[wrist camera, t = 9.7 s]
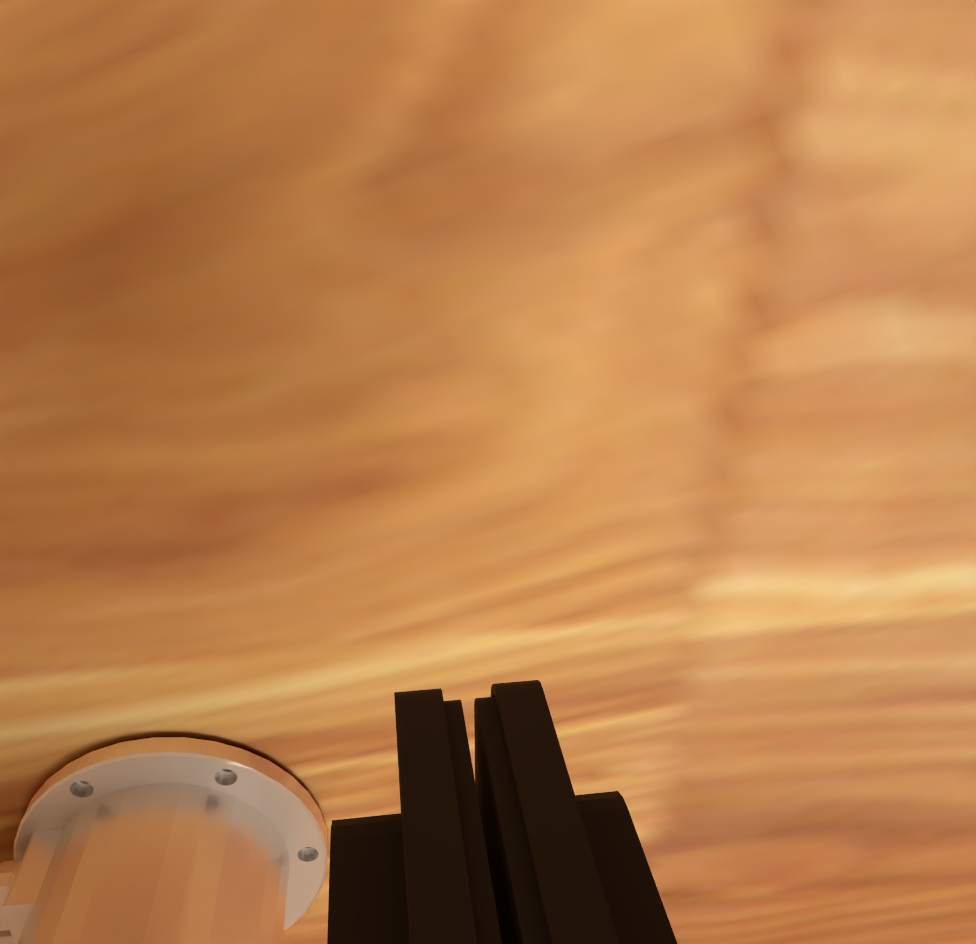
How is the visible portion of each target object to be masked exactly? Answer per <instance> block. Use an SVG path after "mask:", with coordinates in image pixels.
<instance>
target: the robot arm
mask: <svg viewBox="0 0 976 944" xmlns="http://www.w3.org/2000/svg"><path fill="white" fill-rule="evenodd" d="M394 695H395V713H396V731H397V749H398V766H399V784H400V801H401V814H391V815H381V816H372V817H362V818H352V819H342V820H333V821H332V826H331V844H330V878H329V911H328V944H677V941H676V939H675V936H674V933H673V931H672V928H671V925H670V922H669V920H668V917H667V914H666V911H665V909H664V906H663V903H662V901H661V898H660V895H659V892H658V890H657V887H656V884H655V882H654V879H653V876H652V873H651V871H650V868H649V865H648V862H647V860H646V857H645V854H644V852H643V849H642V846H641V843H640V841H639V838H638V835H637V832H636V830H635V827H634V824H633V822H632V819H631V816H630V813H629V811H628V808H627V806H626V803H625V801H624V799H623V797H622V796H621V794H620V793H619V792H618V791H615V792H605V793H595V794H585V795H576V796H575V794H574V791H573V788H572V784H571V781H570V778H569V774H568V771H567V768H566V764H565V761H564V758H563V755H562V751H561V748H560V745H559V741H558V738H557V735H556V731H555V728H554V725H553V721H552V718H551V715H550V711H549V708H548V705H547V701H546V698H545V695H544V692H543V688H542V686H541V683H540V681H539V680H534V681H522V682H511V683H499V684H493V685H492V687H491V697H487V698H476V699H475V703H474V717H475V780H474V774H473V768H472V762H471V756H470V750H469V744H468V738H467V732H466V726H465V720H464V714H463V708H462V703H461V700H453V701H443V695H442V690H441V689H430V690H419V691H407V692H396V693H394ZM327 857H328V836H327V828H326V825H325V822H324V819H323V816H322V813H321V811H320V809H319V808H318V806H317V805H316V803H315V801H314V800H313V798H312V797H311V795H310V794H309V792H308V791H307V790H306V789H305V788H304V787H303V786H302V785H301V784H300V783H299V782H298V781H297V780H296V779H295V778H294V777H293V776H291V775H290V774H288V773H287V772H285V771H284V770H282V769H281V768H280V767H278V766H277V765H275V764H274V763H272V762H271V761H269V760H266V759H264V758H262V757H260V756H258V755H255V754H253V753H251V752H249V751H246V750H244V749H241V748H237V747H234V746H230V745H226V744H223V743H219V742H216V741H209V740H201V739H194V738H186V737H153V738H146V739H139V740H133V741H126V742H121V743H117V744H114V745H111V746H108V747H104V748H101V749H98V750H95V751H92V752H90V753H88V754H86V755H84V756H82V757H80V758H78V759H76V760H74V761H72V762H70V763H68V764H67V765H66V766H64V767H63V768H62V769H60V770H59V771H58V772H56V773H55V774H54V775H52V776H51V777H50V778H49V779H47V781H46V782H45V783H44V784H43V785H42V787H41V788H40V789H39V790H38V791H37V792H36V794H35V795H34V796H33V797H32V799H31V801H30V804H29V806H28V808H27V810H26V812H25V814H24V816H23V818H22V820H21V822H20V825H19V828H18V832H17V835H16V838H15V841H14V861H3V862H1V863H0V944H283V934H284V930H286V929H287V928H289V927H290V926H292V925H293V924H294V923H295V922H296V921H297V920H298V919H299V918H300V917H301V916H302V915H303V914H304V913H305V912H306V911H307V910H308V909H309V907H310V906H311V905H312V903H313V902H314V900H315V899H316V897H317V896H318V894H319V892H320V889H321V887H322V884H323V881H324V879H325V876H326V868H327Z"/></svg>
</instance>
